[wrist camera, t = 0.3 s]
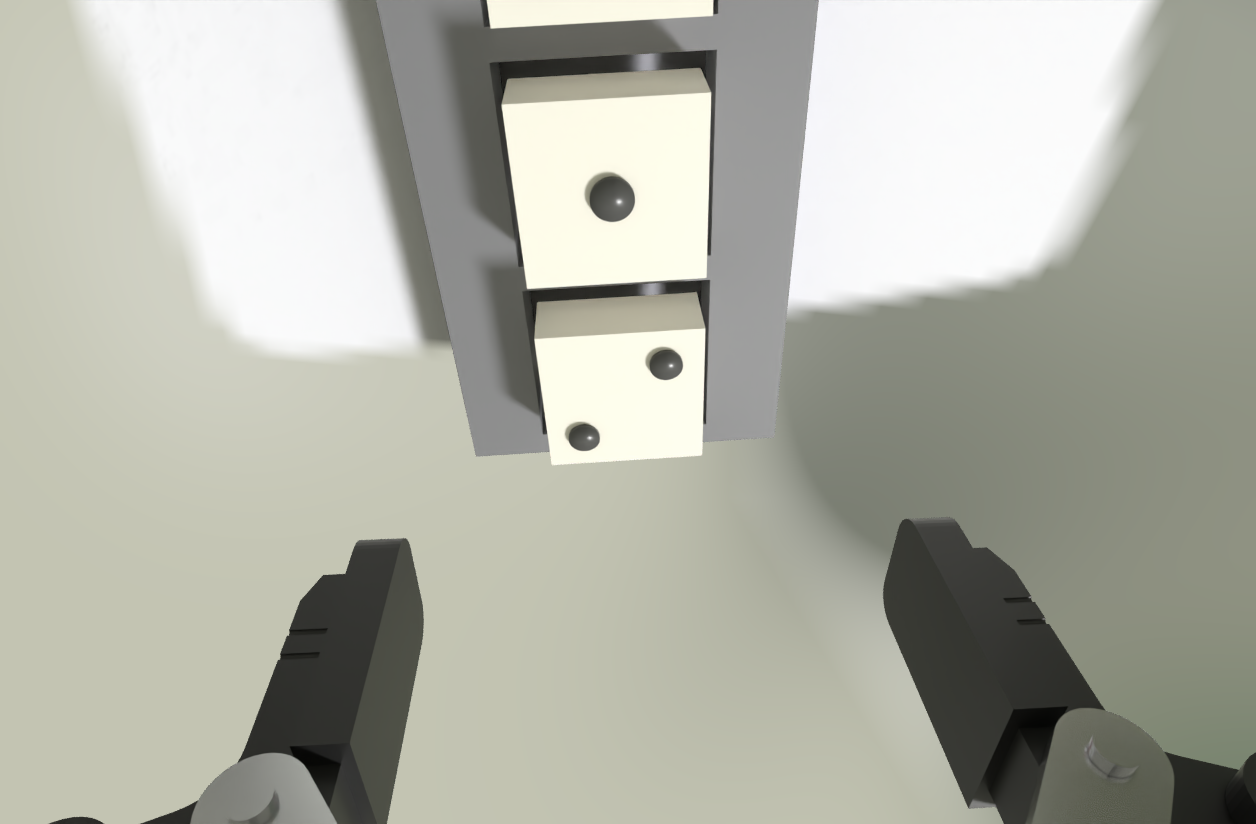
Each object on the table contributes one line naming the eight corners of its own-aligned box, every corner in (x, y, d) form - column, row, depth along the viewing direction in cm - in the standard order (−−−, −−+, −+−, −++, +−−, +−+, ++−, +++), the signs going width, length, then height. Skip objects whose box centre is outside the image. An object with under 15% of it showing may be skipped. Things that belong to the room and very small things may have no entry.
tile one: (700, 67, 24) (712, 94, 22) (697, 243, 28) (707, 280, 26) (507, 78, 24) (501, 106, 22) (530, 253, 28) (526, 291, 26)
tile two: (696, 292, 29) (706, 331, 27) (694, 416, 33) (702, 458, 31) (537, 302, 29) (534, 342, 27) (553, 424, 33) (551, 468, 31)
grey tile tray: (829, -353, 20) (855, -367, 18) (763, 402, 36) (774, 437, 34) (327, -327, 20) (301, -340, 18) (481, 420, 36) (476, 456, 34)
